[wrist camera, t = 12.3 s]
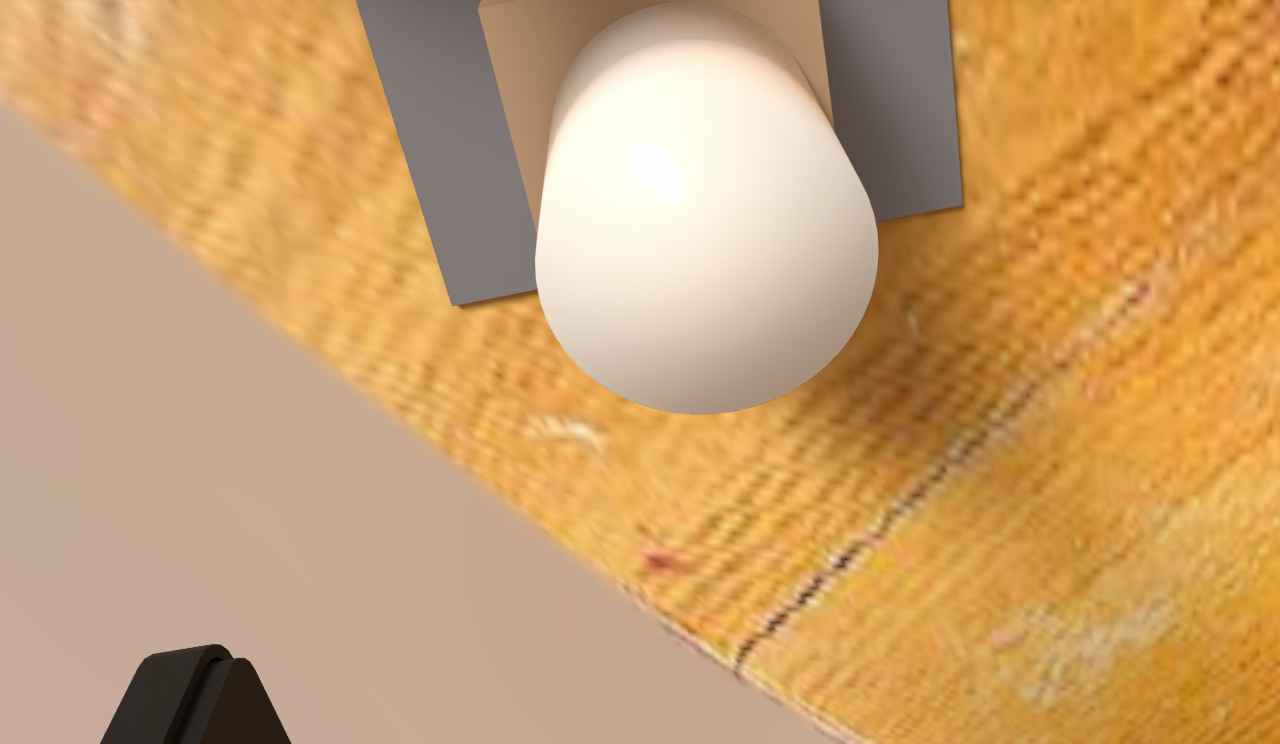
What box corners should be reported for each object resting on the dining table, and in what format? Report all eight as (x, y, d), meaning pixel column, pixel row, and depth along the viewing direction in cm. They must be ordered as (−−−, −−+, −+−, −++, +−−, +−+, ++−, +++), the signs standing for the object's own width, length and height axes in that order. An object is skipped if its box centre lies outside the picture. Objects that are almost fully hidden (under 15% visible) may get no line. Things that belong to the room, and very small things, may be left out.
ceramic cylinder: (796, -26, 21) (858, 66, 16) (829, 231, 24) (894, 381, 19) (522, 33, 22) (497, 139, 16) (582, 279, 24) (577, 440, 19)
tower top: (769, -111, 26) (810, -62, 21) (804, 149, 29) (848, 247, 24) (502, -53, 27) (477, 9, 21) (563, 197, 30) (555, 304, 24)
